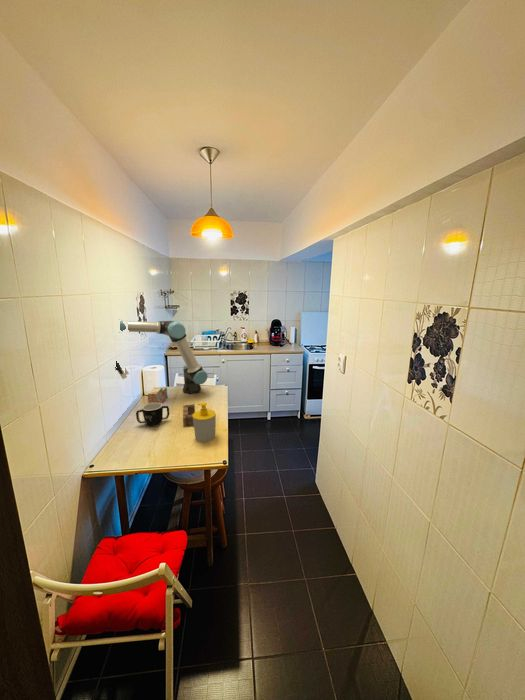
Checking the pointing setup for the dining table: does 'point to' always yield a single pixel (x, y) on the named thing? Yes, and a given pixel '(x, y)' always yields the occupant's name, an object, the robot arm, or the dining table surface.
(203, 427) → the soap bottle
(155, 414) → the mug
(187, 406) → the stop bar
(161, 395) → the stack of blocks
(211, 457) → the dining table surface
